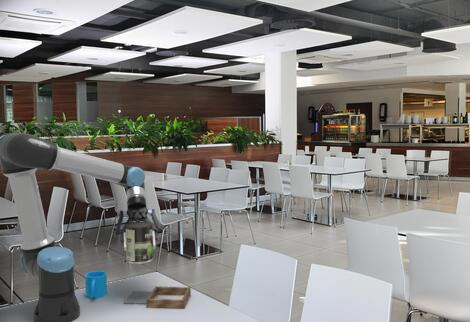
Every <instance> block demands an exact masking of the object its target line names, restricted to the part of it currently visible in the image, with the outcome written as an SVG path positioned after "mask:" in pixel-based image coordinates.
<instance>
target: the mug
mask: <svg viewBox="0 0 470 322" xmlns="http://www.w3.org/2000/svg"><path fill="white" fill-rule="evenodd" d="M107 276H108V275H107V272H106V271H103V270H95V271H89V272H87V273H85V275H84V278H85V279H84V281H85V283H84V284H85V297H86V298H90V299H99V298H103V297H104V296H107V294H108V286H107V285H108V282H107V278H108V277H107Z"/></svg>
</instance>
